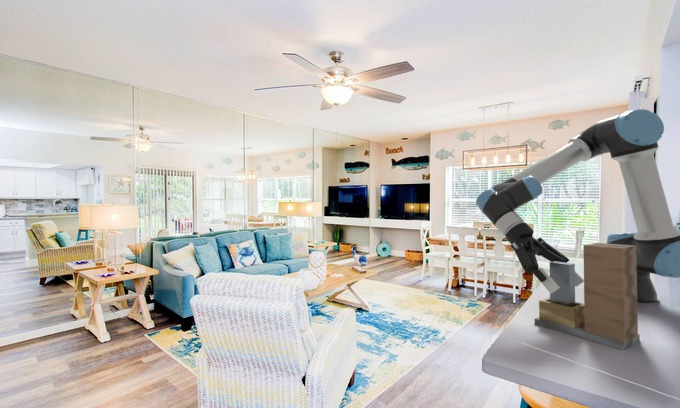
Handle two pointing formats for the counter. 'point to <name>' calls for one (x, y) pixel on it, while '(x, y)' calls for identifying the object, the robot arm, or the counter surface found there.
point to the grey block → (563, 283)
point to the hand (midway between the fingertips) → (568, 287)
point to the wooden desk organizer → (601, 299)
